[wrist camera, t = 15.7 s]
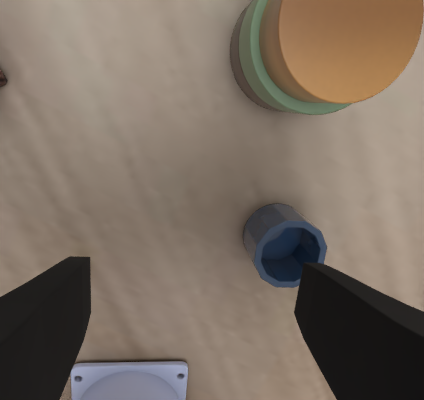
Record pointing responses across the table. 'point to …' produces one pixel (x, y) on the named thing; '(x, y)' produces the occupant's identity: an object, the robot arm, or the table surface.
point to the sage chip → (259, 75)
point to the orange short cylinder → (338, 46)
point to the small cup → (282, 244)
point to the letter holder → (2, 79)
